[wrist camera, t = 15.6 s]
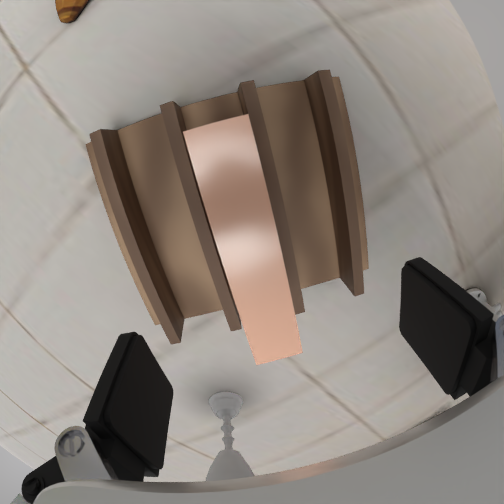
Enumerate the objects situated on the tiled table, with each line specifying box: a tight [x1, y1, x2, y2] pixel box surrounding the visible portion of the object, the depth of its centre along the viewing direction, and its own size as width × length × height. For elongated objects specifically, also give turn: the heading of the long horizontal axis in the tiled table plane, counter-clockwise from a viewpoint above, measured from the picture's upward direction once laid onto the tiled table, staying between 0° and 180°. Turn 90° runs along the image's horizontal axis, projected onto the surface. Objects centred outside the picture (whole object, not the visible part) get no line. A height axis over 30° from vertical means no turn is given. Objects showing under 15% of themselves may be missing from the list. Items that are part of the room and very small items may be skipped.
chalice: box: [206, 392, 254, 481], centre depth 29 cm, size 7×7×18 cm
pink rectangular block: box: [183, 114, 303, 365], centre depth 20 cm, size 3×14×12 cm, turn 14°
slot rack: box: [86, 70, 369, 344], centre depth 24 cm, size 24×20×6 cm
